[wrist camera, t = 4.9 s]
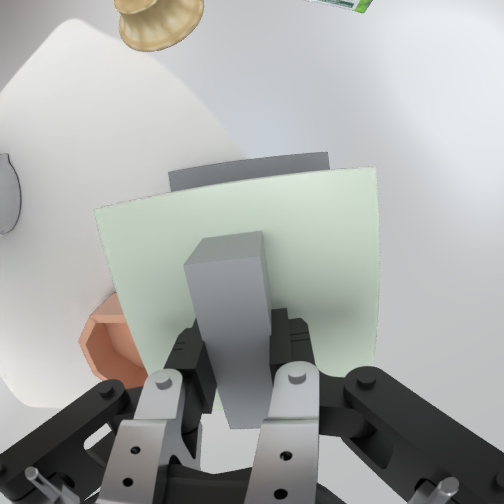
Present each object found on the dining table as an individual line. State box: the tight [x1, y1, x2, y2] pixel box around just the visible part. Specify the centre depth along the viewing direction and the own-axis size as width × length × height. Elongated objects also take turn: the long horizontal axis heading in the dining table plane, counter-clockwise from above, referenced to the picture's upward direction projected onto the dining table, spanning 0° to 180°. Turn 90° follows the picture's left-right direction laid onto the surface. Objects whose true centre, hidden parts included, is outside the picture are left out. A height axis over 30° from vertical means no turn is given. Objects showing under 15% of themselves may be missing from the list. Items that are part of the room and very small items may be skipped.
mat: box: [168, 152, 330, 192], centre depth 25 cm, size 15×13×1 cm
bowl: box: [79, 293, 149, 389], centre depth 27 cm, size 10×10×5 cm
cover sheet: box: [94, 167, 380, 429], centre depth 12 cm, size 12×12×4 cm
